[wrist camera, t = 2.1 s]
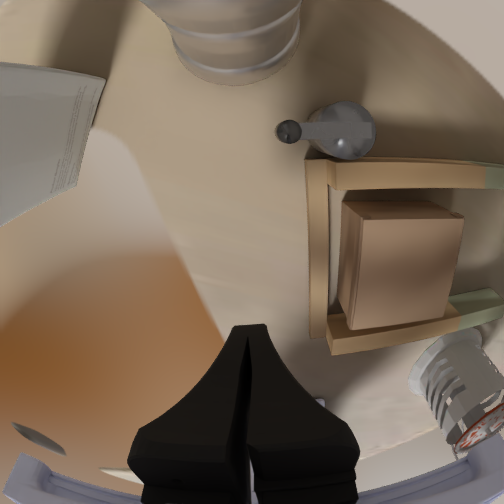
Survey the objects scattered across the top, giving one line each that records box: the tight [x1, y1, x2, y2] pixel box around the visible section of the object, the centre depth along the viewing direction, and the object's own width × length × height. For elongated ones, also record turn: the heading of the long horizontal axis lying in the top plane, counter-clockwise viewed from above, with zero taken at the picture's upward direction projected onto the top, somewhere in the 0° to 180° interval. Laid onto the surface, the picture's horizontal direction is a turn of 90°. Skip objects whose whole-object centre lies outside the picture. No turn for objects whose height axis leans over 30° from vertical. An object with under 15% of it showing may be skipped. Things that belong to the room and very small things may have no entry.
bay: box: [304, 157, 504, 356], centre depth 18 cm, size 13×18×3 cm
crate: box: [337, 201, 464, 330], centre depth 18 cm, size 7×7×4 cm
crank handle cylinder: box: [275, 101, 376, 160], centre depth 14 cm, size 3×5×6 cm, turn 95°
